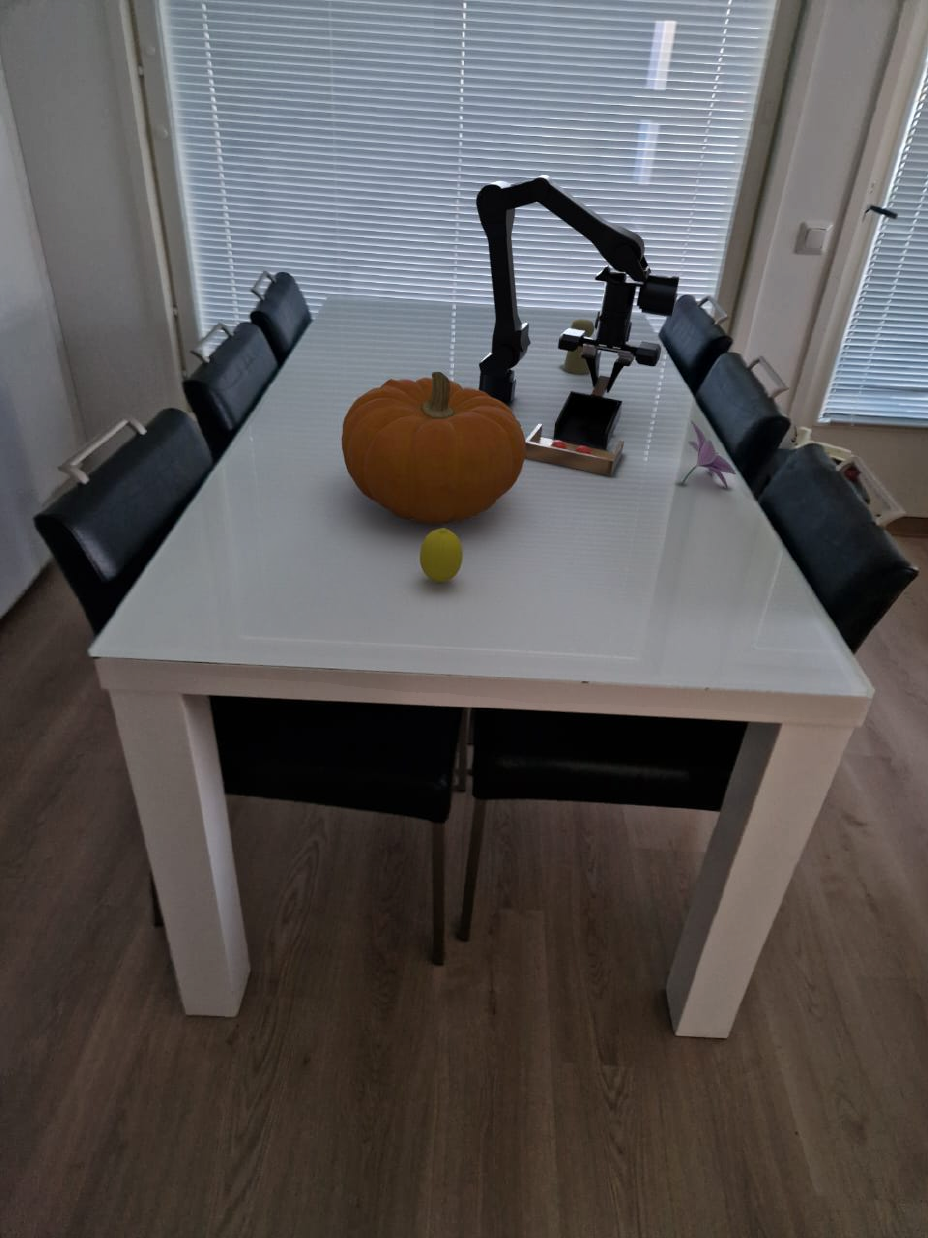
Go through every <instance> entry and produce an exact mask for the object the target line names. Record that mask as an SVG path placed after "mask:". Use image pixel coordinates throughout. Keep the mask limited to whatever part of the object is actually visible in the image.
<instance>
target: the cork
mask: <svg viewBox="0 0 928 1238" xmlns="http://www.w3.org/2000/svg"><path fill="white" fill-rule="evenodd" d="M570 328H571V329H577V330H582V331H585V333H586V335H585V337H590V338H592V336H593V334H594V333H595V323H593V322H592V321H591V320H589V319H586V318H578V319H577V318H576V319H575V320H574V319H573V321H572V323H571V325H570ZM582 353H583V347H580V346H578V349H576V350H575V351H573V352H571V351H566V355H565V359H564V362H563V365H562V369H563V371H565V372H567V373H569V374H570V373H571V374H576V375H577V374H578V375H585V374H588V373H590V371H589V368H588V365H587V362H586V360H585V359H584V358H581V354H582Z"/></svg>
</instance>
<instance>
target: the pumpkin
mask: <svg viewBox="0 0 928 1238" xmlns="http://www.w3.org/2000/svg"><path fill="white" fill-rule="evenodd" d="M341 434H342V435H341V450H342V455H343V460H344V464H345V467H346V470H347V474H349V476H350V478H351V479H352V481H353V482H354V484H355V486H356V487H357V488H358V490H360V492H361V493H362V494H363V496H365V497H366V498H368V499H370V500H372V501H373V502H375V503H377V504H378V505H380V506H381V507H382V508H384V509H386V510H388V511H390V512H391V513H392V514H394V515H395V516H396V517H399V518H401V519H403V520H413V521H414V522H416V523H418V524H422V525H443V524H445V523H448V522H449V523H454V522H455V523H456V522H462V521H465V520H469V519H471V518H473V517H476V516H479V515H481V514H482V513H484V512H485V511H487V510H488V509H490V508H491V507H492V506H493V505H494V504H495V503H496V502H497V501H498V500H499V499H501V498H502V496H504V495H505V494H506V493H507V492H508V491H510V490H511V489H512V488H513V486H514V485H515V483H516V482H517V481H518V479H519V477H520V475H521V472H522V470H523V466H524V462H525V459H526V458H525V456H526V442H525V440H526V438H525V435H524V431H523V429H522V424H521V423H520V421H519V420H518V419H517V417H516V415H515V413H513V411H512V409H511V408H510V407H509V405H505V404H504V403H502V402H501V401H499V400H497V399H495V398H492V397H491V396H489V395H488V394H486V393H485V392H483V391H480V390H479V389H476V388H472V387H464V388H463V386H462V385H461V384H460V383H457V382H455V381H453V380H450V379H449V378H448V376H447V375H445V374H444V373H443V372H441V371H433V372H432V373H431V377H422V378H418V379H416V380H415V381H414V380H412V379H407V378H406V379H405V378H403V379H402V378H401V379H397V380H396V379H392V378H390V379H388V380H386V381H384V383H383V384H382V385H380V386H378V387H373V388H372V389H370V390H368V391H366V392H365V393H363V394H362V395H360V396H358V397H357V399H356V400H354V401H353V403H352V405H350V407H349V408H348V410H347V412H346V415H345V416H344V419H343V422H342V433H341Z"/></svg>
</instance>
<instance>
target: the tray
mask: <svg viewBox="0 0 928 1238" xmlns="http://www.w3.org/2000/svg"><path fill="white" fill-rule="evenodd" d="M543 427H544V426H543V423H538V424H537V425H536V426H535V427H534V429H533V430H532V431H531V432H530V434H529V435H528V436H527V437H526V438H525V442H526V456H525V459H529V460H533V461H538V462H542V463H548V464H552V465H556V466H557V465H558V466H561V467H566V468H571V469H575V470H579V471H583V472H584V471H585V472H587V473H588V472H589V473H593V474H598V475H603V476H607V477H611V476H612V475H613V473H614V471H615V469H616V467H617V465H618V463H619V461H620V459H621V457H622V455H623V450H624V446H625V441H624V440H619V442H618V443H617V445H616V447H615V449H614V450H613V451H608V450H605V449H600V448H595V447H590V446H587V447H588V448H589V449H590V451H591V455H590V454H585V453H581V452H576V451H575V450H576V449H577V448H578V447H579V446H581V444H576V443H571V442H567V441H563V442H564V443H565V445H566V447H567V450H566V449H562V448H557V447H552V446H551V444H552V443H553V442H555V441H557V439H553V438H547V437H542V432H543Z"/></svg>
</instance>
